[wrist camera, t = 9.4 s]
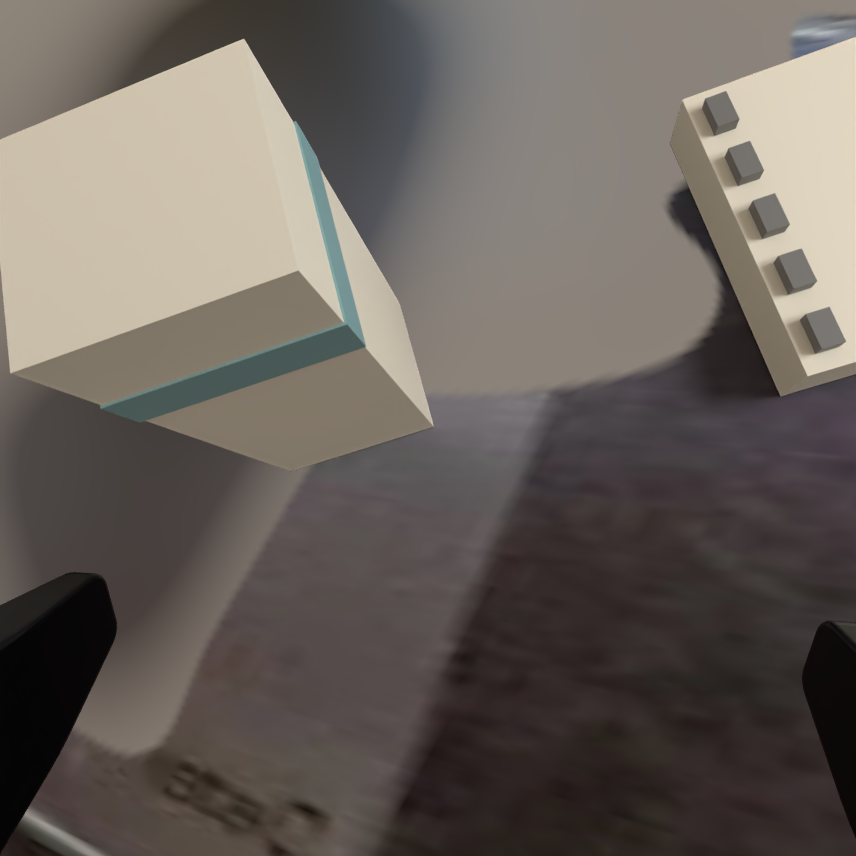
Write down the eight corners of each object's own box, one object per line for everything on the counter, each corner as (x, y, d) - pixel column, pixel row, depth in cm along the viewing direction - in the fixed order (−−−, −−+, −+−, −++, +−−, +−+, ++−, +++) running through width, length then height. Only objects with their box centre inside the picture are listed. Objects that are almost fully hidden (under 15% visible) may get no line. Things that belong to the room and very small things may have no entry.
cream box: (436, 427, 20) (301, 272, 9) (289, 473, 20) (7, 377, 10) (400, 301, 21) (246, 35, 10) (262, 348, 22) (-14, 142, 11)
